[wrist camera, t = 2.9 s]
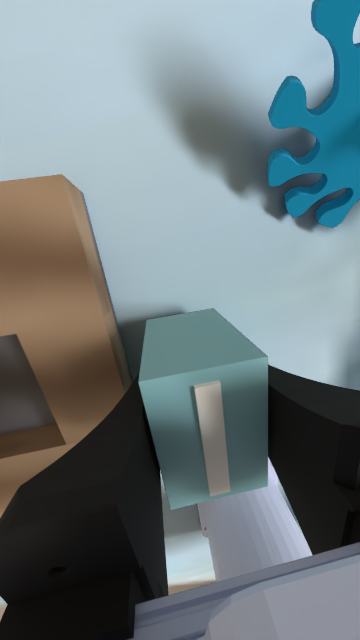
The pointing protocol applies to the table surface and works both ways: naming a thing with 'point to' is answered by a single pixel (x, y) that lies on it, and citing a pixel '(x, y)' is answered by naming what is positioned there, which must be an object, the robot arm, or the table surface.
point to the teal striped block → (205, 406)
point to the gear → (324, 122)
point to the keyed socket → (52, 329)
